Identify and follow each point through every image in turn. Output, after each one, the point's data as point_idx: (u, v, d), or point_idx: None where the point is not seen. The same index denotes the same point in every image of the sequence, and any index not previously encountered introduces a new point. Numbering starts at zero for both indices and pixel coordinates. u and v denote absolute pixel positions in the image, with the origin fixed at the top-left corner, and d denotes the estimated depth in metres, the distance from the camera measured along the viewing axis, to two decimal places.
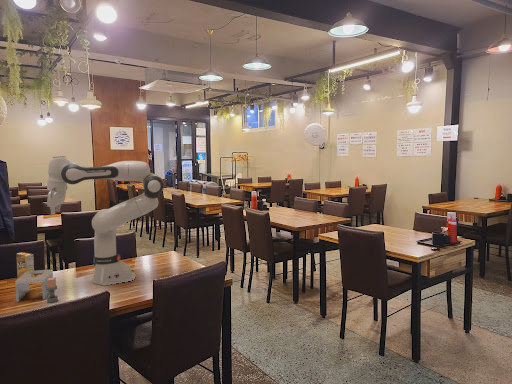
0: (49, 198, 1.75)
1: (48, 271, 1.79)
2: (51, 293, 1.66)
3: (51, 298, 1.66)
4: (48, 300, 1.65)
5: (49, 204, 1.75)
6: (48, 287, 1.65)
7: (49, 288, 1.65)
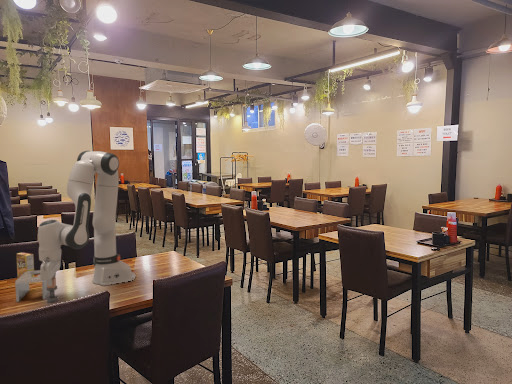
0: (42, 271, 1.56)
1: None
2: (51, 293, 1.66)
3: (51, 298, 1.65)
4: (48, 300, 1.65)
5: (43, 278, 1.56)
6: (48, 287, 1.65)
7: (49, 288, 1.65)
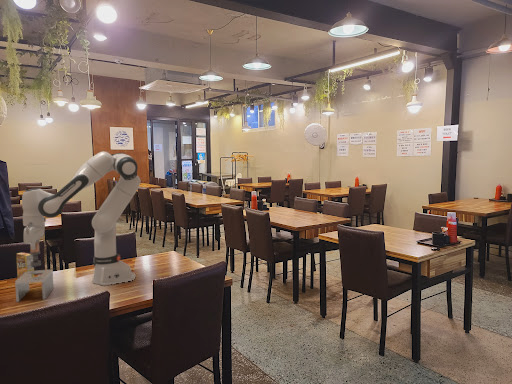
0: (25, 235, 1.65)
1: (48, 271, 1.79)
2: (34, 257, 1.75)
3: (34, 262, 1.75)
4: (31, 264, 1.74)
5: (26, 241, 1.65)
6: (31, 251, 1.74)
7: (32, 252, 1.74)
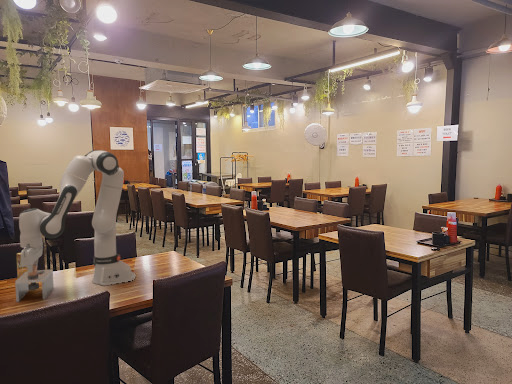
0: (22, 257, 1.61)
1: (48, 271, 1.79)
2: None
3: (32, 285, 1.71)
4: (29, 287, 1.70)
5: (23, 264, 1.61)
6: (29, 274, 1.70)
7: (30, 275, 1.70)
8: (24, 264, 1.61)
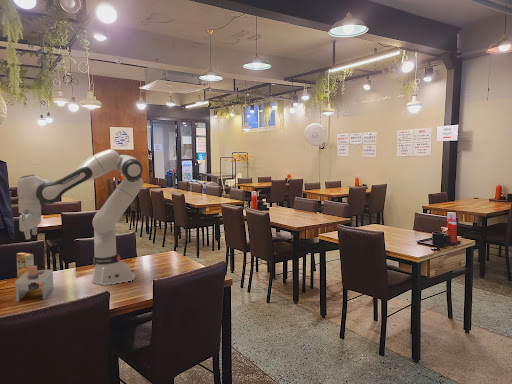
0: (21, 222, 1.60)
1: (48, 271, 1.79)
2: None
3: (32, 285, 1.71)
4: (29, 287, 1.70)
5: (22, 228, 1.61)
6: (29, 274, 1.70)
7: (30, 275, 1.70)
8: (23, 229, 1.61)
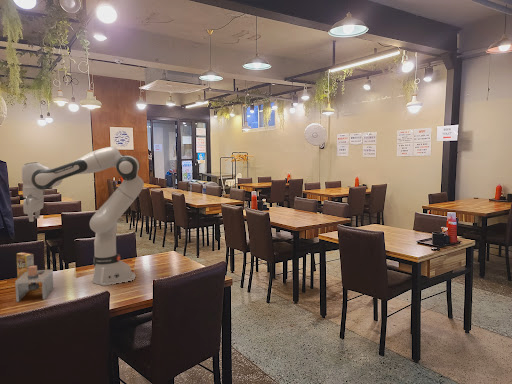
0: (25, 205, 1.74)
1: (48, 271, 1.79)
2: None
3: (32, 285, 1.71)
4: (29, 287, 1.70)
5: (26, 211, 1.74)
6: (29, 274, 1.70)
7: (30, 275, 1.70)
8: (26, 211, 1.74)
